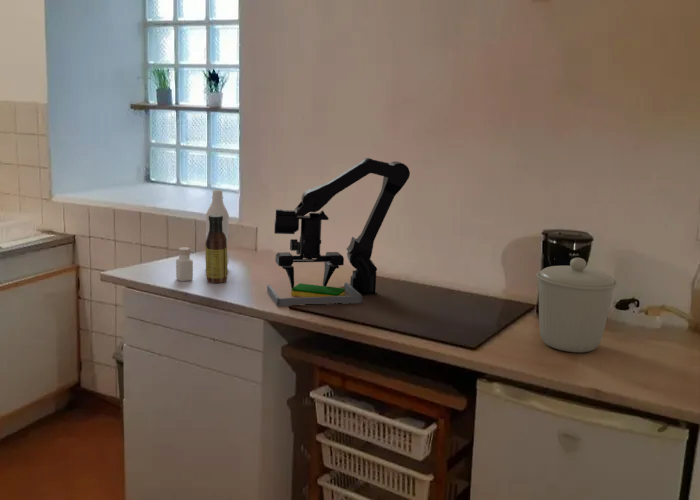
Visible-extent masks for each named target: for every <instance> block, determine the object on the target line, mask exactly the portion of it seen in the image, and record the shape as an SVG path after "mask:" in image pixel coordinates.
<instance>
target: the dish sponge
mask: <svg viewBox="0 0 700 500" xmlns="http://www.w3.org/2000/svg"><path fill="white" fill-rule="evenodd" d="M290 295H291V296H292V297H298V298H300V297H327V296H346V290H345V289H344V287H336V286H328V285H326V286H323V285H319V284H317V285H316V284H308V283H298V284H296V285H294V287H293V288H291V292H290Z"/></svg>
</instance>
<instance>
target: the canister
mask: <svg viewBox="0 0 700 500" xmlns="http://www.w3.org/2000/svg"><path fill="white" fill-rule="evenodd" d="M586 266H587V262H586V260H585V259H584V258H581V257H574V258H572V259H571V260H570V262H569V265H551V266H547V267H544V268H542V270H538V271H537V272H536V273H535V276H536V278H537V279H538V321H539V323H538V325H539V334H540V337H541V340H542V341H543V343H544V344H545V345H546V346H549V347H551V348H553V349H555V350H559V351H564V352H569V353H577V354H578V353H588V352H592V351H594V350H596V349H597V348H598V347H599V345H600V344H601V341H602V338H603V336H604V331H605V327H606V324H607V320H608V317H609V312H610V308H611V305H612V300H613V296H614V291H615V288H617V286H618V285H619V282H618V280H617V279H615V277H613V276H612V275H610V274H609V273H607V272H605V271H602V270H599V269H595V268H592V267H591V268H589V267H586Z"/></svg>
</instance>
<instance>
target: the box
mask: <svg viewBox="0 0 700 500" xmlns="http://www.w3.org/2000/svg"><path fill="white" fill-rule="evenodd" d="M343 288H344V289H345V290H344V291H345V292H346V293H348V294H349V295H344V296H327V297H281V298H280V296H279V295H278V294H277V292H276V291H275V289H274V288H273V287H272V286H271V284H267V287H266V289H267V290H266V292H267V294H268V296H269V297H270V298H271V300H272V302H274V304H275V305H276V307H292V306H291V305H299V304H324V303H332V304H331V305H338V304H337V303H342V304H341V305H344V304H345V305H347V304H349V303H351V304H363V297H364V295H361V294H360V293H359V292H357V291H356V290H355V289H354V288H353V287H352V286H350V283H348V282H344V287H343ZM334 303H336V304H334Z"/></svg>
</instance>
